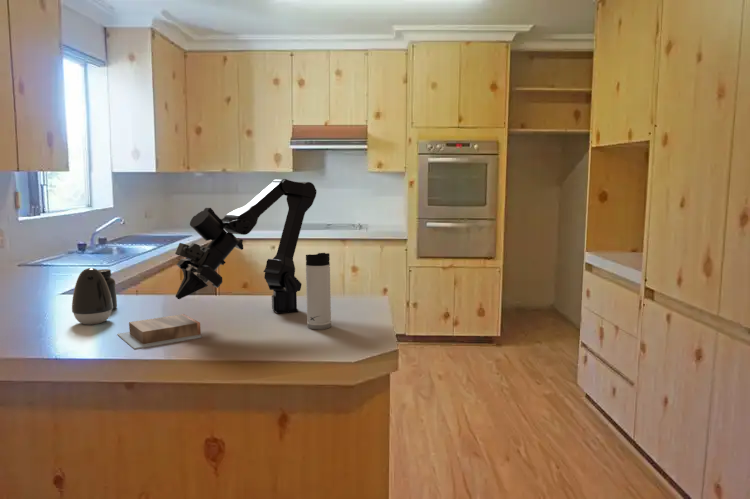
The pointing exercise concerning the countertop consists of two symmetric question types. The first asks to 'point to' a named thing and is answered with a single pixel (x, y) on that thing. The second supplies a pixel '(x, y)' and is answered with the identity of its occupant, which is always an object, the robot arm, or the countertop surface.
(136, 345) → the mat
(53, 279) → the countertop surface
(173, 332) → the walnut slab
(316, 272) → the travel mug
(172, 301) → the countertop surface
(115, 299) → the supplement bottle
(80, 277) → the black white egg shape
